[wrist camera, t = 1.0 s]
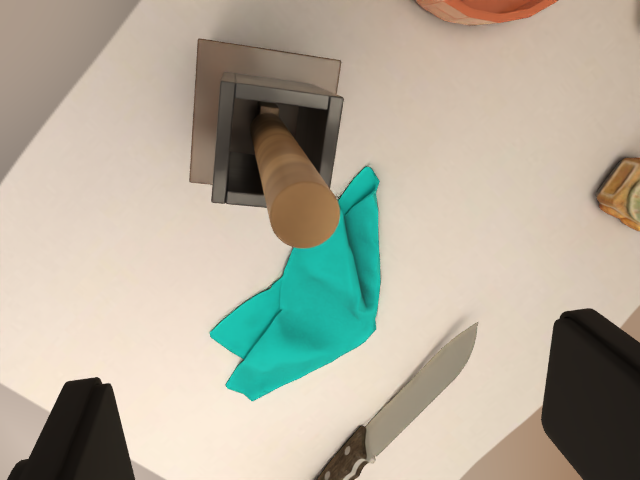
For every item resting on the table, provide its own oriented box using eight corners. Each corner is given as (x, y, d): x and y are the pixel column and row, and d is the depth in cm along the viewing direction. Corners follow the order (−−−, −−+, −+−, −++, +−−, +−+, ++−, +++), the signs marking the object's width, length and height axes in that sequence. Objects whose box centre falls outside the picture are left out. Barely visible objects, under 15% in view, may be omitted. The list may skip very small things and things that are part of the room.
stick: (246, 141, 30) (265, 257, 13) (250, 99, 29) (275, 165, 12) (277, 145, 30) (332, 262, 13) (282, 103, 29) (347, 173, 13)
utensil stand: (202, 142, 43) (172, 233, 22) (208, 42, 40) (182, 32, 19) (295, 153, 45) (353, 247, 23) (307, 57, 42) (386, 64, 21)
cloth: (288, 422, 54) (291, 437, 52) (179, 360, 50) (177, 374, 48) (455, 239, 50) (465, 247, 48) (352, 152, 45) (358, 157, 43)
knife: (311, 547, 55) (508, 358, 47) (293, 540, 54) (489, 346, 46) (307, 500, 60) (483, 322, 52) (290, 493, 59) (466, 311, 51)
